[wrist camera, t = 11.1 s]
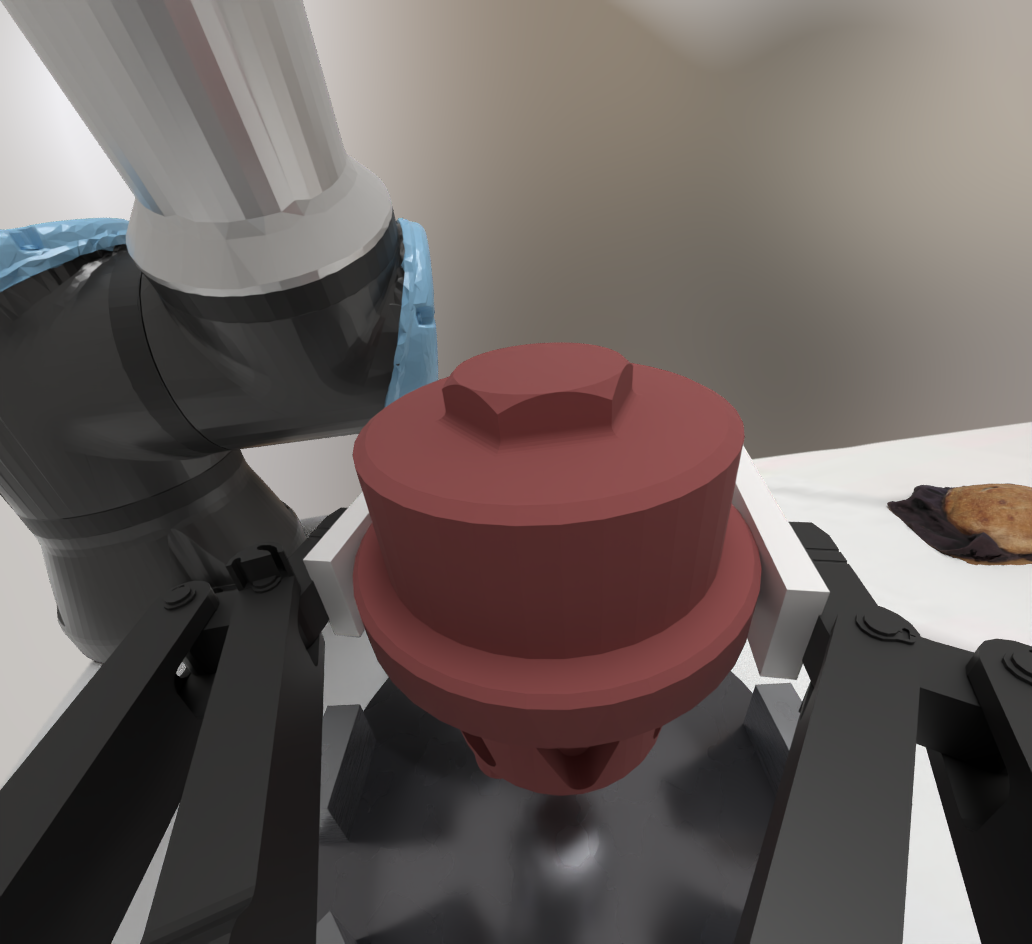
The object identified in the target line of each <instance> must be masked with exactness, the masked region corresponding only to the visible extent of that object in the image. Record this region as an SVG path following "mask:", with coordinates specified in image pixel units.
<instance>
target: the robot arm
mask: <svg viewBox="0 0 1032 944" xmlns="http://www.w3.org/2000/svg"><path fill="white" fill-rule="evenodd" d="M0 1H1V2H2V3H3V5H4V6H5V8H6V9H7V11H8V12H9V14H10V15H11V17H12V18H13V20H14V21H15V22H16V24H17V25H18V27H19V28H20V30H21V31H22V33H23V34H24V35H25V37H26V38H27V40H28V41H29V43H30V44H31V46H32V47H33V48H34V50H35V52H36V53H37V54H38V56H39V57H40V59H41V60H42V62H43V63H44V65H45V66H46V67H47V69H48V70H49V72H50V73H51V75H52V76H53V78H54V79H55V81H56V82H57V84H58V85H59V86H60V88H61V89H62V91H63V92H64V93H65V95H66V97H67V98H68V99H69V101H70V102H71V104H72V105H73V107H74V108H75V110H76V111H77V112H78V114H79V116H80V117H81V118H82V120H83V121H84V123H85V124H86V126H87V127H88V129H89V130H90V132H91V133H92V134H93V136H94V137H95V139H96V140H97V141H98V143H99V145H100V146H101V148H102V149H103V150H104V152H105V153H106V154H107V156H108V158H109V159H110V161H111V162H112V164H113V165H114V166H115V168H116V169H117V171H118V172H119V174H120V175H121V176H122V178H123V179H124V181H125V182H126V184H127V185H128V186H129V188H130V190H131V191H132V193H133V194H134V195H135V202H134V206H133V209H132V213H131V217H130V221H127V220H124V219H118V218H88V219H75V220H66V221H56V222H48V223H41V224H35V225H30V226H27V227H22V228H15V229H7V230H0V495H1V496H2V497H3V498H4V500H5V501H6V502H7V503H8V504H9V505H10V506H11V508H12V509H13V510H14V511H15V512H16V514H17V515H18V516H19V517H20V519H21V520H22V521H23V522H24V523H25V525H26V526H27V527H28V528H29V530H30V531H31V532H32V533H33V534H34V536H35V537H36V538H37V539H38V541H39V543H40V545H41V547H42V551H43V556H44V560H45V564H46V568H47V572H48V576H49V580H50V583H51V587H52V590H53V593H54V596H55V600H56V603H57V614H58V622H59V624H60V626H61V628H62V630H63V631H64V632H65V634H66V635H67V636H68V637H69V638H70V639H71V641H72V642H73V643H74V644H75V645H76V646H77V647H78V648H79V649H80V651H82V653H83V654H84V655H86V656H87V657H88V658H90V659H92V660H94V661H97V662H101V663H104V664H103V665H102V666H101V668H100V669H99V670H98V671H97V673H96V674H95V675H94V676H93V678H92V679H91V680H90V681H89V682H88V684H87V685H86V686H85V687H84V689H83V690H82V691H81V692H80V693H79V695H78V696H77V697H76V698H75V700H74V701H73V702H72V703H71V704H70V706H69V707H68V708H67V709H66V711H65V712H64V713H63V714H62V715H61V717H60V718H59V719H58V720H57V722H56V723H55V724H54V725H53V726H52V728H51V729H50V730H49V731H48V733H47V734H46V735H45V736H44V738H43V739H42V740H41V741H40V742H39V744H38V745H37V746H36V747H35V749H34V750H33V751H32V752H31V753H30V755H29V756H28V757H27V758H26V760H25V761H24V762H23V763H22V764H21V766H20V767H19V768H18V769H17V771H16V772H15V773H14V774H13V775H12V777H11V778H10V779H9V780H8V782H7V783H6V784H5V785H4V786H3V788H2V789H1V790H0V944H111V942H112V940H113V938H114V936H115V934H116V932H117V930H118V928H119V926H120V924H121V922H122V920H123V918H124V916H125V914H126V912H127V910H128V908H129V906H130V903H131V901H132V899H133V897H134V895H135V893H136V891H137V889H138V887H139V885H140V883H141V881H142V879H143V877H144V875H145V873H146V871H147V869H148V867H149V865H150V862H151V860H152V858H153V856H154V854H155V852H156V850H157V848H158V846H159V844H160V842H161V840H162V838H163V836H164V834H165V832H166V830H167V828H168V826H169V824H170V822H171V819H172V817H173V815H174V813H175V811H176V809H177V807H178V805H179V803H180V805H179V809H178V812H177V816H176V819H175V823H174V827H173V830H172V834H171V837H170V841H169V845H168V848H167V852H166V855H165V859H164V863H163V866H162V870H161V874H160V877H159V881H158V884H157V888H156V892H155V895H154V899H153V902H152V906H151V910H150V913H149V917H148V920H147V924H146V928H145V931H144V935H143V937H142V940H141V943H140V944H316V930H317V896H318V861H319V826H320V791H321V757H322V722H323V687H324V653H325V642H324V638H323V635H322V633H321V631H322V630H323V628H324V627H325V625H326V624H327V622H328V621H329V622H330V624H331V627H332V629H333V631H334V634H335V635H340V636H350V637H361V635H362V633H363V631H364V630H365V628H364V625H363V622H362V620H361V617H360V614H359V611H358V608H357V604H356V601H355V598H354V591H353V569H354V563H355V557H356V554H357V551H358V548H359V546H360V543H361V540H362V538H363V537H364V535H365V533H366V531H367V530H368V528H369V526H370V525H371V523H372V520H371V517H370V514H369V511H368V507H367V504H366V501H365V498H364V494H363V491H362V492H361V494H360V495H359V496H358V497H357V498H356V499H355V500H354V502H353V503H352V504H351V505H350V506H349V507H348V508H340V509H338V510H337V511H335V512H333V513H332V514H330V515H329V516H327V517H326V518H325V519H324V520H323V521H322V522H321V524H320V525H319V526H318V527H317V529H315V530H314V531H313V532H312V533H311V534H310V536H309V538H306V535H305V533H304V530H303V528H302V526H301V523H300V521H299V519H298V517H297V515H296V514H295V512H294V511H293V510H292V509H291V508H290V507H289V506H288V505H286V504H285V503H284V502H282V501H281V500H280V499H279V498H278V497H277V496H276V495H275V493H274V492H273V491H272V490H271V489H270V488H269V487H268V486H267V485H266V484H265V483H264V481H263V480H262V479H261V478H260V477H259V476H258V475H257V474H256V473H255V472H254V471H253V470H252V469H251V467H250V466H249V465H248V464H247V462H246V461H245V459H244V457H243V455H242V453H241V450H240V449H244V448H253V447H261V446H268V445H276V444H284V443H291V442H299V441H306V440H314V439H322V438H329V437H337V436H345V435H352V434H359V433H360V431H361V430H362V428H363V427H364V426H365V425H366V424H367V423H368V422H369V421H370V419H371V418H373V417H374V416H375V415H376V414H378V413H379V412H380V411H381V410H383V409H384V408H385V407H387V406H388V405H390V404H391V403H392V402H394V401H396V400H397V399H399V398H401V397H402V396H404V395H405V394H407V393H410V392H412V391H414V390H416V389H418V388H420V387H422V386H425V385H427V384H430V383H432V382H435V381H437V380H438V352H437V334H436V324H435V320H434V313H435V311H434V290H433V279H432V269H431V260H430V253H429V246H428V241H427V236H426V233H425V230H424V228H423V227H422V226H421V225H420V224H419V223H416V222H409V221H408V220H407V219H405V220H403V218H399V219H398V220H397V221H395V216H394V212H393V207H392V202H391V199H390V195H389V192H388V190H387V188H386V186H385V185H384V183H383V182H382V180H381V179H380V178H379V177H378V176H377V175H375V174H374V173H373V172H372V171H370V170H369V169H368V168H366V167H365V166H364V165H362V164H361V163H359V162H358V161H357V160H355V159H354V158H353V157H351V156H350V155H348V154H347V153H346V151H345V149H344V146H343V143H342V139H341V136H340V132H339V129H338V125H337V122H336V118H335V114H334V111H333V108H332V104H331V100H330V97H329V93H328V90H327V86H326V83H325V79H324V75H323V72H322V68H321V64H320V61H319V58H318V54H317V50H316V47H315V43H314V40H313V36H312V32H311V29H310V25H309V22H308V18H307V15H306V11H305V7H304V4H303V0H0ZM732 504H733V505H734V507H735V508H736V509H737V510H738V511H739V512H740V514H741V515H742V517H743V518H744V520H745V521H746V523H747V524H748V526H749V528H750V530H751V532H752V534H753V537H754V539H755V541H756V544H757V546H758V550H759V556H760V562H761V568H762V570H761V582H760V592H759V595H758V599H757V603H756V606H755V610H754V614H753V617H752V621H751V625H750V629H749V632H748V636H747V638H748V641H749V644H750V647H751V650H752V653H753V656H754V659H755V662H756V665H757V668H758V671H759V674H760V676H763V677H773V678H783V679H794V680H797V678H798V675H799V672H800V670H801V667H802V665H803V664H804V666H805V669H806V671H807V673H808V675H809V678H810V680H811V681H810V684H809V686H808V689H807V691H806V694H805V696H804V699H803V701H802V704H801V706H800V709H799V711H798V712H799V713H800V716H799V719H798V722H797V726H796V729H795V733H794V736H793V740H792V743H791V747H790V750H789V754H788V757H787V761H786V764H785V767H784V771H783V774H782V778H781V781H780V785H779V788H778V792H777V795H776V799H775V802H774V806H773V809H772V812H771V816H770V819H769V823H768V826H767V830H766V833H765V837H764V840H763V844H762V847H761V850H760V854H759V857H758V861H757V864H756V868H755V871H754V875H753V878H752V882H751V885H750V889H749V892H748V895H747V899H746V902H745V906H744V909H743V913H742V916H741V920H740V923H739V927H738V930H737V934H736V937H735V940H734V944H902V941H903V927H904V912H905V897H906V883H907V868H908V854H909V839H910V824H911V810H912V795H913V781H914V766H915V751H916V744H919V745H921V746H924V747H926V749H927V753H928V757H929V760H930V764H931V767H932V771H933V774H934V778H935V781H936V785H937V788H938V792H939V795H940V799H941V802H942V806H943V810H944V813H945V817H946V820H947V824H948V827H949V831H950V834H951V838H952V841H953V845H954V848H955V852H956V855H957V859H958V862H959V866H960V870H961V873H962V877H963V880H964V884H965V887H966V891H967V894H968V898H969V901H970V905H971V908H972V912H973V915H974V919H975V923H976V926H977V930H978V933H979V937H980V940H981V944H1032V646H1029V645H1025V644H1022V643H1019V642H1016V641H1011V640H1003V639H992V640H987V641H984V642H983V643H982V644H981V645H980V646H979V647H978V649H977V650H976V652H975V653H974V652H970V651H966V650H963V649H959V648H956V647H952V646H949V645H945V644H942V643H938V642H934V641H931V640H929V639H926V638H923V637H921V636H920V634H919V633H918V632H917V630H916V629H915V628H914V627H913V625H912V624H911V623H909V622H908V621H907V620H905V619H904V618H902V617H901V616H900V615H898V614H896V613H894V612H892V611H890V610H888V609H886V608H883V607H880V606H878V605H877V604H876V602H875V601H874V599H873V598H872V597H871V595H870V594H869V592H868V591H867V589H866V588H865V586H864V585H863V584H862V582H861V581H860V579H859V578H858V576H857V575H856V573H855V572H854V571H853V569H852V568H851V566H850V565H849V564H847V560H846V559H845V558H844V556H843V555H842V553H841V552H839V549H838V547H837V546H836V545H835V543H834V542H833V540H832V539H831V537H830V536H829V535H828V534H827V533H825V532H824V531H823V530H821V529H820V528H818V527H817V526H816V525H814V524H813V523H809V522H788V520H787V519H786V517H785V515H784V514H783V512H782V510H781V508H780V507H779V505H778V503H777V502H776V500H775V498H774V497H773V495H772V493H771V492H770V490H769V488H768V486H767V485H766V483H765V481H764V480H763V478H762V476H761V475H760V473H759V471H758V470H757V468H756V466H755V465H754V463H753V461H752V459H751V458H750V456H749V454H748V453H747V451H746V449H745V448H744V446H743V447H742V453H741V458H740V463H739V468H738V473H737V478H736V483H735V488H734V494H733V499H732ZM182 661H183V663H184V664H185V665H186V669H185V671H184V672H183V674H182V675H181V676H180V677H179V676H178V675H177V674H176V672H177V669H178V667H179V666H180V664H181V663H182Z"/></svg>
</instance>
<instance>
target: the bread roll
mask: <svg viewBox="0 0 1032 944" xmlns="http://www.w3.org/2000/svg"><path fill="white" fill-rule="evenodd" d="M887 505H888V508H889V510H890V511H891V512H893V513H894V514H895V515H896V516H897V517H899V518H900V519H901V520H902V521H903V522H904V523H905V524H906V525H908V526H909V527H910V528H911V529H913V530H914V532H915V533H916V534H917V535H918V536H919V537H920V538H921V539H922V540H924V541H925V542H926V543H927V544H928V545H930V546H931V547H933V548H935V549H937V550H939V551H940V552H942V553H944V554H947V555H949V556H952V557H953V558H958V559H961V560H963V561H966V562H967V563H969V564H974V565H978V564H981V565H1025V564H1032V488H1031V487H1027V486H1022V485H1015V484H983V485H972V486H962V487H956V488H949V487H945V488H941V487H934V486H929V485H920V486H917V487H915V488H914V492H913V493H912V496H911V497H909V498H908V499H907V500H902V501H898V502H894V501H892V502H888V503H887Z"/></svg>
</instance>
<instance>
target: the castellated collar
mask: <svg viewBox="0 0 1032 944" xmlns="http://www.w3.org/2000/svg"><path fill="white" fill-rule="evenodd" d="M801 704H802V701H801V699H800V698H799V696H798V694H797V693H796V691H795V689H794V688H793V686H792V684H791V683H781V684H761V685H755V688H754V692H753V693H752V692H751V691H750V690H749V689H748V688H747V687H746V685H745V684H744V683H743V682H742V681H741V680H740V679H739V678H738V677H737V676H735V675H734V674H733V673H732V672H731V671H730V672H729V673H728V675H727V676H726V677H725V678H724V680H723V681H722V682H721V683H720V685H719V686H718V687H717V689H715V690H714V691H713V692H712V693H711V694H709V695H708V696H707V697H706V698H705V699H704V700H702V701H701V702H700V703H699V704H698V705H696V706H695V707H694V708H693V709H692V710H690V711H688V712H686V713H685V714H683V715H681V716H679V717H678V718H676V719H674V720H672V721H671V722H669V723H667V724H665V725H664V726H662V729H661V731H660V733H659V736H658V738H657V740H656V743H655V745H654V746H653V747H652V749H651V750H650V752H649V753H648V755H647V756H646V758H645V759H644V760H643V761H642V762H641V764H639V765H638V766H637V767H636V768H635V769H633V770H632V771H631V772H630V773H629V774H628V775H626V776H625V777H624V778H622V779H620V780H618V781H616V782H614V783H613V784H611V785H609V786H607V787H605V788H602V789H598V790H595V791H591V792H588V793H584V794H576V795H563V796H558V795H550V794H542V793H536V792H533V791H530V790H527V789H524V788H521V787H518V786H515V785H513V784H511V783H510V782H508V781H506V780H504V779H495V778H491V777H489V776H487V775H485V774H484V773H483V772H482V771H481V769H480V768H479V766H478V764H477V762H476V758H475V754H474V752H473V751H472V750H471V748H470V747H469V746H468V744H467V742H466V740H465V738H464V736H463V734H462V732H461V730H460V729H457V728H455V727H453V726H451V725H449V724H446V723H444V722H442V721H440V720H438V719H437V718H435V717H434V716H432V715H431V714H429V713H428V712H426V711H425V710H423V709H422V708H420V707H419V706H417V705H416V704H414V703H413V702H412V701H411V700H410V699H409V698H408V697H407V696H406V695H405V694H404V693H403V692H402V691H401V690H400V689H399V688H398V687H397V686H396V685H394V684H393V682H392V681H391V679H390V678H388V679H387V680H386V682H385V683H384V684H383V685H382V687H381V688H380V689H379V691H378V692H377V693H376V694H375V696H374V697H373V698H372V699H371V701H370V702H369V704H368V705H367V707H366V708H365V710H364V712H363V710H362V708H361V706H360V704H358V705H338V706H327V709H326V711H325V714H324V717H323V722H322V757H321V791H320V826H319V861H318V896H317V930H316V944H734V940H735V937H736V934H737V930H738V927H739V923H740V920H741V916H742V913H743V909H744V906H745V902H746V899H747V895H748V892H749V889H750V885H751V882H752V878H753V875H754V871H755V868H756V864H757V861H758V857H759V854H760V850H761V847H762V844H763V840H764V837H765V833H766V830H767V826H768V823H769V819H770V816H771V812H772V809H773V806H774V802H775V799H776V795H777V792H778V788H779V785H780V781H781V778H782V774H783V771H784V767H785V764H786V761H787V757H788V754H789V750H790V747H791V743H792V740H793V736H794V733H795V729H796V726H797V722H798V719H799V716H800V713H799V712H798V711H799V709H800V706H801Z"/></svg>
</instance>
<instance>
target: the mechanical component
mask: <svg viewBox="0 0 1032 944" xmlns="http://www.w3.org/2000/svg"><path fill="white" fill-rule="evenodd" d="M744 437H745V436H744V427H743V422H742V420H741V418H740V416H739V414H738V413H737V411H736V409H735V408H734V407H733V406H732V405H731V404H730V403H729V402H728V401H727V400H726V399H724V398H723V397H721V396H720V395H719V394H717V393H716V392H714V391H713V390H711V389H709V388H707V387H705V386H703V385H701V384H699V383H696V382H694V381H692V380H690V379H688V378H686V377H683V376H680V375H678V374H675V373H672V372H669V371H665V370H662V369H657V368H654V367H650V366H644V365H639V364H634V363H630V362H629V361H628V360H626V359H625V358H624V357H623V356H622V355H621V354H619V353H618V352H616V351H613V350H611V349H608V348H604V347H600V346H596V345H589V344H580V343H538V344H526V345H519V346H512V347H507V348H502V349H497V350H493V351H490V352H486V353H483V354H480V355H477V356H475V357H472V358H470V359H468V360H466V361H464V362H463V363H461V364H460V365H458V367H456V369H455V370H454V371H453V372H452V373H451V375H450V376H449V377H447V378H444V379H440V380H437V381H435V382H432V383H430V384H427V385H425V386H422V387H420V388H418V389H416V390H414V391H412V392H410V393H407V394H405V395H404V396H402V397H401V398H399V399H397V400H396V401H394V402H392V403H391V404H390V405H388V406H387V407H385V408H384V409H383V410H381V411H380V412H379V413H378V414H376V415H375V416H374V417H373V418H371V419H370V421H369V422H368V423H367V424H366V425H365V426H364V427H363V428H362V430H361V431H360V433H359V435H358V437H357V439H356V441H355V444H354V450H353V459H354V464H355V468H356V472H357V475H358V478H359V481H360V484H361V488H362V491H363V494H364V498H365V501H366V504H367V507H368V511H369V514H370V517H371V520H372V523H371V525H370V526H369V528H368V530H367V531H366V533H365V535H364V537H363V538H362V540H361V543H360V546H359V548H358V551H357V554H356V557H355V563H354V569H353V591H354V598H355V601H356V604H357V608H358V611H359V614H360V617H361V620H362V622H363V625H364V628H365V630H366V633H367V636H368V638H369V641H370V643H371V646H372V648H373V650H374V653H375V655H376V657H377V660H378V662H379V663H380V665H381V666H382V668H383V669H384V671H385V672H386V674H387V675H388V677H389V678H390V679H391V681H392V682H393V684H394V685H396V686H397V687H398V688H399V689H400V690H401V691H402V692H403V693H404V694H405V695H406V696H407V697H408V698H409V699H410V700H411V701H412V702H413V703H414V704H416V705H417V706H419V707H420V708H422V709H423V710H425V711H426V712H428V713H429V714H431V715H432V716H434V717H435V718H437V719H438V720H440V721H442V722H444V723H446V724H449V725H451V726H453V727H455V728H457V729H460V730H461V732H462V734H463V736H464V738H465V740H466V742H467V744H468V746H469V747H470V748H471V750H472V751H473V752H474V754H475V758H476V762H477V764H478V766H479V768H480V769H481V771H482V772H483V773H484V774H485V775H487V776H489V777H491V778H495V779H504V780H506V781H508V782H510V783H511V784H513V785H515V786H518V787H521V788H524V789H527V790H530V791H533V792H536V793H542V794H550V795H558V796H563V795H576V794H584V793H588V792H591V791H595V790H598V789H602V788H605V787H607V786H609V785H611V784H613V783H614V782H616V781H618V780H620V779H622V778H624V777H625V776H626V775H628V774H629V773H630V772H631V771H632V770H633V769H635V768H636V767H637V766H638V765H639V764H641V762H642V761H643V760H644V759H645V758H646V756H647V755H648V753H649V752H650V750H651V749H652V747H653V746H654V745H655V743H656V740H657V738H658V736H659V733H660V731H661V729H662V726H664V725H665V724H667V723H669V722H671V721H672V720H674V719H676V718H678V717H679V716H681V715H683V714H685V713H686V712H688V711H690V710H692V709H693V708H694V707H695V706H696V705H698V704H699V703H700V702H701V701H702V700H704V699H705V698H706V697H707V696H708V695H709V694H711V693H712V692H713V691H714V690H715V689H717V687H718V686H719V685H720V683H721V682H722V681H723V680H724V678H725V677H726V676H727V675H728V673H729V672H730V671H731V670H732V668H733V667H734V666H735V664H736V662H737V659H738V657H739V655H740V653H741V651H742V649H743V647H744V645H745V643H746V640H747V636H748V632H749V629H750V625H751V621H752V617H753V614H754V610H755V606H756V603H757V599H758V595H759V592H760V582H761V570H762V568H761V562H760V556H759V550H758V546H757V544H756V541H755V539H754V537H753V534H752V532H751V530H750V528H749V526H748V524H747V523H746V521H745V520H744V518H743V517H742V515H741V514H740V512H739V511H738V510H737V509H736V508H735V507H734V505H733V504H732V499H733V494H734V488H735V483H736V478H737V473H738V468H739V463H740V458H741V453H742V447H743V442H744Z"/></svg>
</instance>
